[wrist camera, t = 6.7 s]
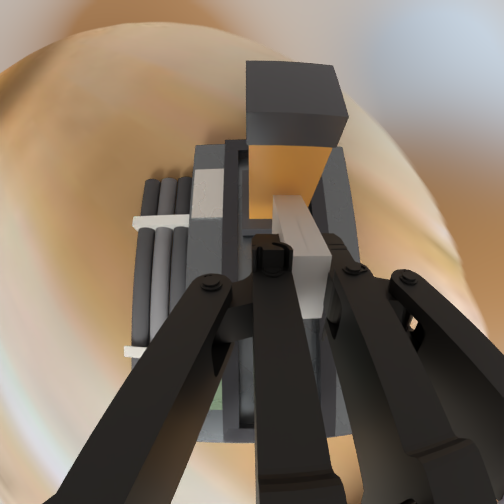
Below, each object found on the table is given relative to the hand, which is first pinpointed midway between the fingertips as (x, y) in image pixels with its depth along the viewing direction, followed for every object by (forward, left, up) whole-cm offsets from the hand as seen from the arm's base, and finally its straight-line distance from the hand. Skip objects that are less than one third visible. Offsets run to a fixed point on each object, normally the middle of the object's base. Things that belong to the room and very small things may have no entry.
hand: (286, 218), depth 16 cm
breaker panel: (-2, -1, -7) cm, 8 cm away
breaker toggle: (+2, +1, -4) cm, 5 cm away
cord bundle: (-6, +6, -7) cm, 12 cm away
